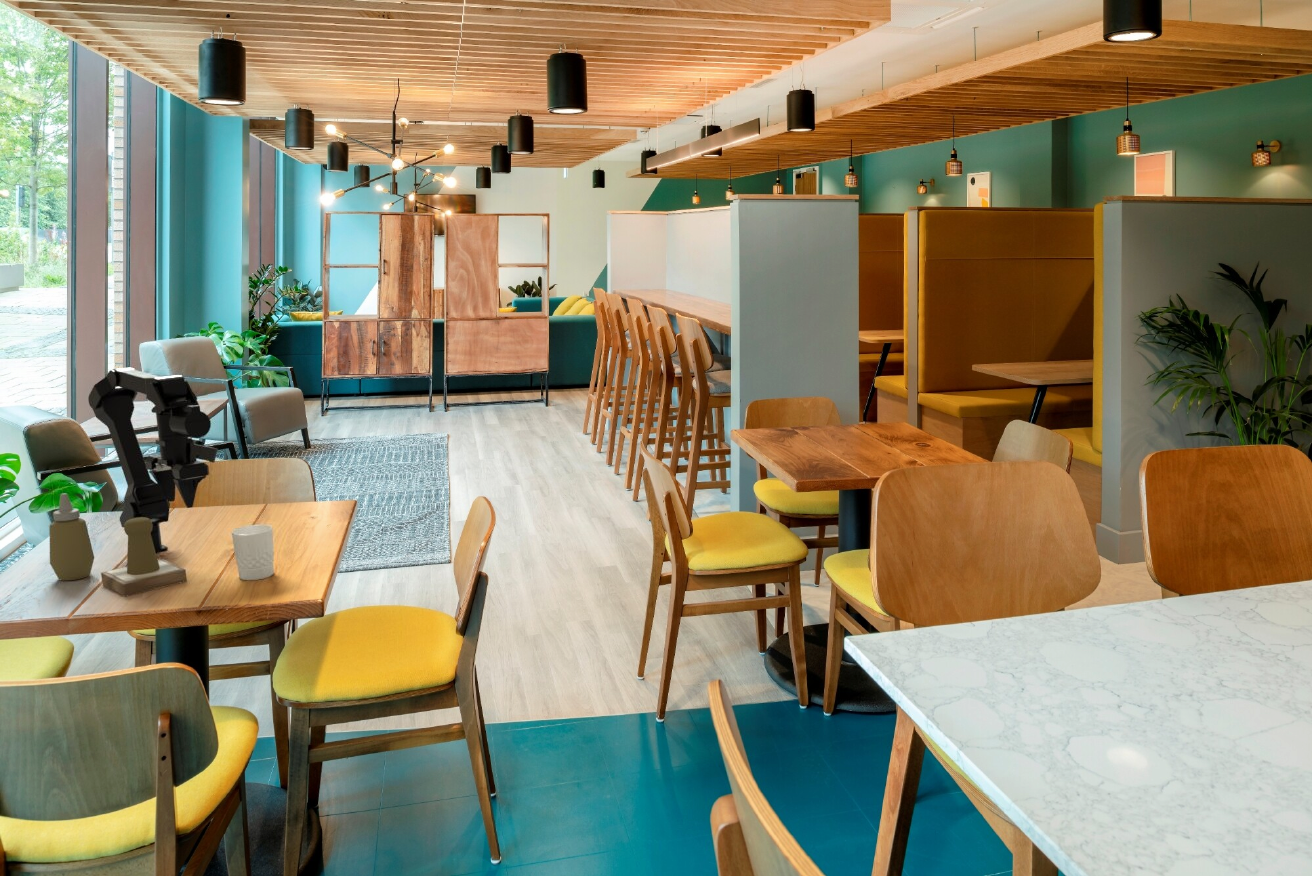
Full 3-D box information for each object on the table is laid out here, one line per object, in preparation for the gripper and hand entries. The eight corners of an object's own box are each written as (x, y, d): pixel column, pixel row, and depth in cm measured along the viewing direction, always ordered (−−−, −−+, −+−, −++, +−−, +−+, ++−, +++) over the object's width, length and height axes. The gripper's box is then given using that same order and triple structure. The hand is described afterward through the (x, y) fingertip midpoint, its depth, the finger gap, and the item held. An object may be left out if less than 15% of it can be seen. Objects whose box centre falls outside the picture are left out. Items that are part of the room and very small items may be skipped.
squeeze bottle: (50, 585, 199) (39, 500, 196) (53, 574, 206) (42, 492, 203) (95, 579, 203) (85, 495, 200) (97, 568, 210) (87, 487, 207)
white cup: (284, 571, 206) (280, 526, 204) (258, 583, 198) (254, 536, 197) (254, 568, 208) (250, 523, 207) (227, 579, 201) (223, 533, 199)
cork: (145, 575, 196) (139, 522, 194) (120, 574, 197) (113, 521, 195) (166, 566, 202) (160, 515, 200) (141, 565, 203) (135, 514, 201)
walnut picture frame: (102, 584, 200) (100, 571, 199) (162, 569, 208) (161, 557, 208) (125, 596, 192) (123, 583, 191) (186, 581, 200) (185, 568, 200)
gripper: (229, 433, 209) (236, 503, 211) (192, 424, 221) (199, 491, 224) (176, 440, 201) (184, 513, 203) (140, 431, 213) (148, 500, 216)
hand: (180, 504), depth 212 cm, fingers open, 9 cm apart
